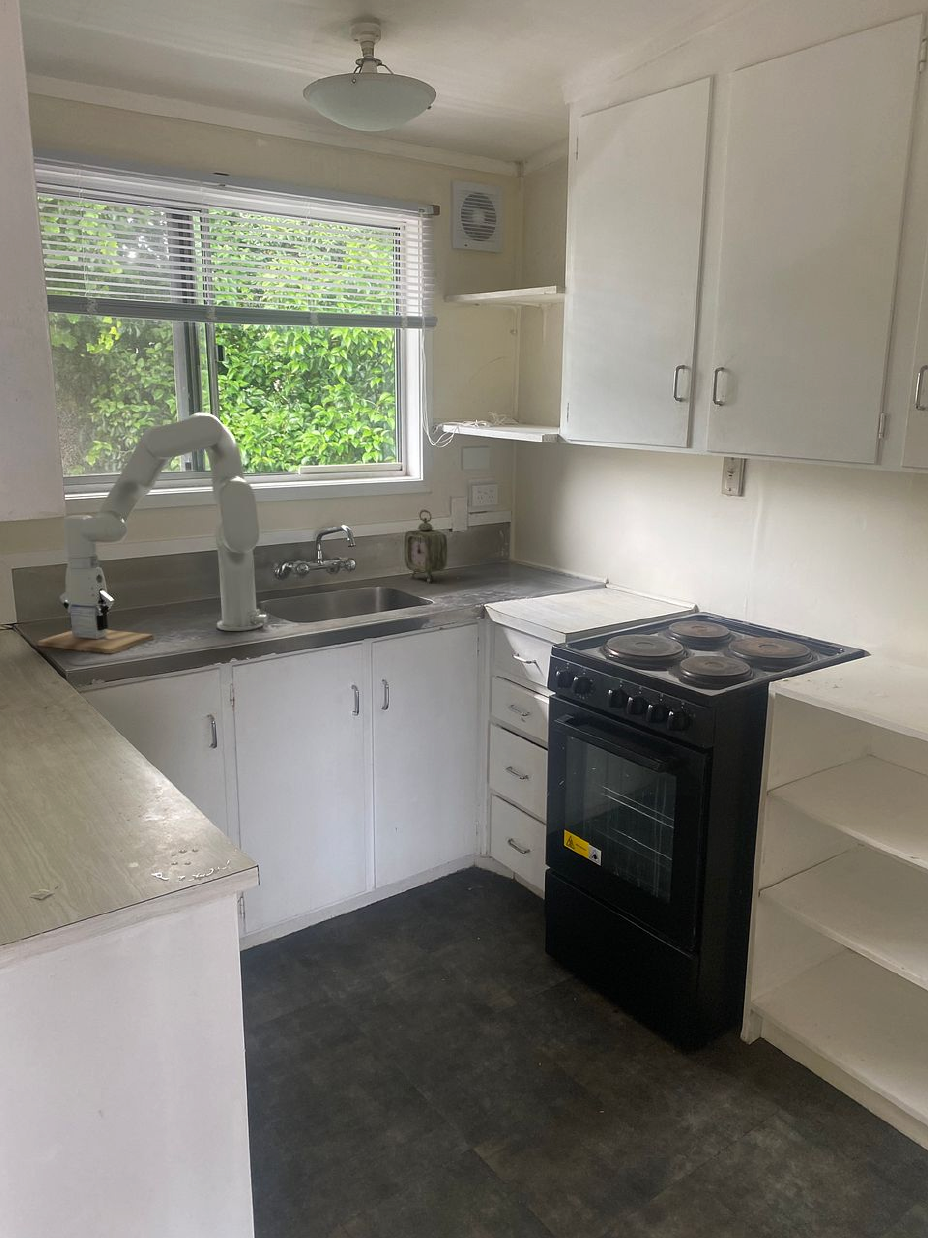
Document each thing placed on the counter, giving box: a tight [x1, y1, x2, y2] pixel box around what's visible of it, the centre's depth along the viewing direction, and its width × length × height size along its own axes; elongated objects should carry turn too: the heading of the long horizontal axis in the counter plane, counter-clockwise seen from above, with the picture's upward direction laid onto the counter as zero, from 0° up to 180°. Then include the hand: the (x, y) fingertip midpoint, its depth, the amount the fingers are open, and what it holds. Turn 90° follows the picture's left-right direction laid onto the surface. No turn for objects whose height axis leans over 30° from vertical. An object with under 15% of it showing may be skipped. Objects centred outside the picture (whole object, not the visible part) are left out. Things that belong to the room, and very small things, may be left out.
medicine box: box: [69, 605, 108, 639], centre depth 245 cm, size 8×4×9 cm, turn 72°
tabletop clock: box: [404, 509, 448, 584], centre depth 327 cm, size 14×9×25 cm, turn 37°
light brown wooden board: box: [37, 629, 155, 654], centre depth 245 cm, size 24×16×1 cm, turn 70°
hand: (89, 627), depth 245 cm, fingers closed on medicine box, 8 cm apart
